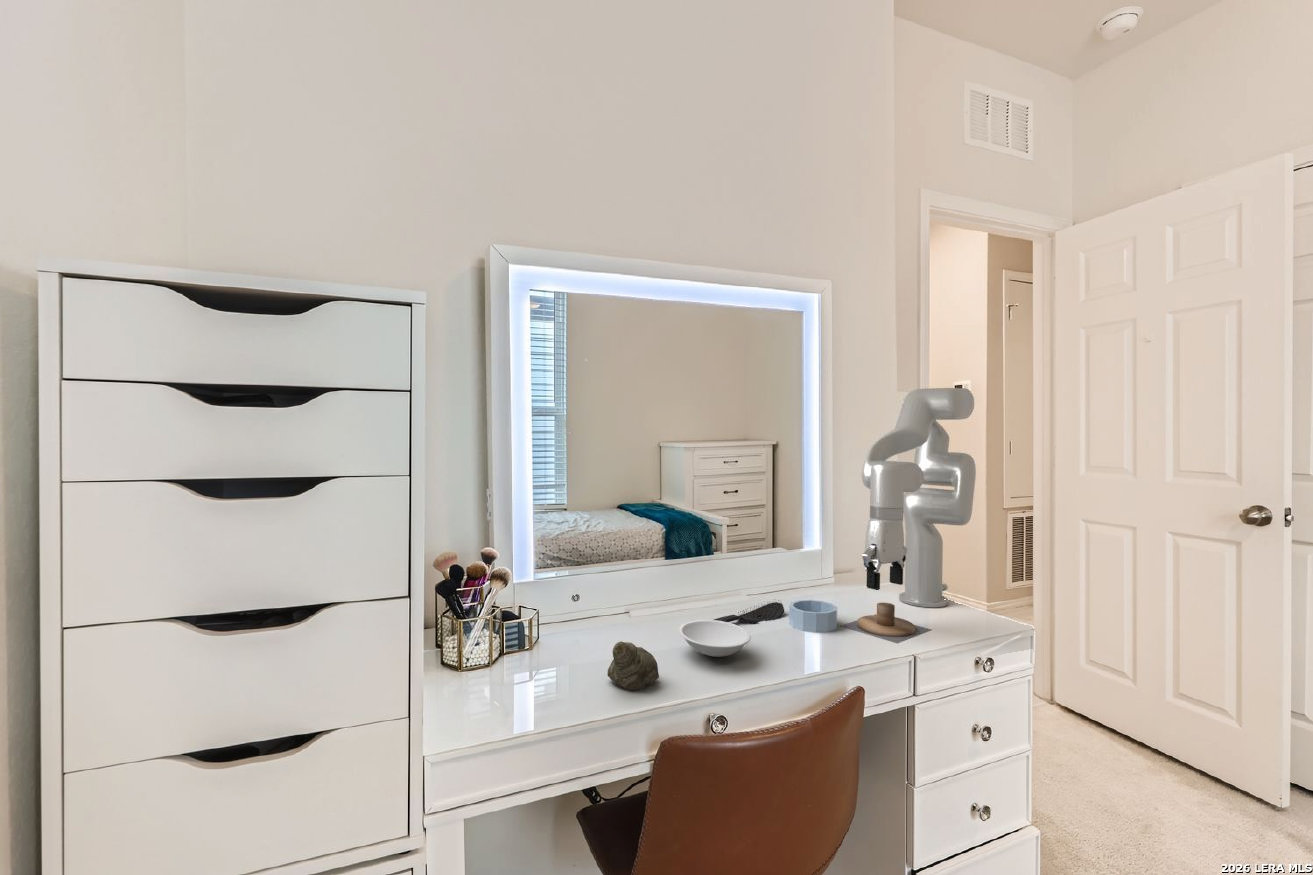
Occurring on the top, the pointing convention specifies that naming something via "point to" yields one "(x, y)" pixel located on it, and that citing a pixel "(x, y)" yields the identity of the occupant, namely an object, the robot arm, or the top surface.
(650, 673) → the seashell
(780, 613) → the hairbrush
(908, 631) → the lid
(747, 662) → the top surface
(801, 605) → the bowl
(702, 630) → the dish
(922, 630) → the mat
